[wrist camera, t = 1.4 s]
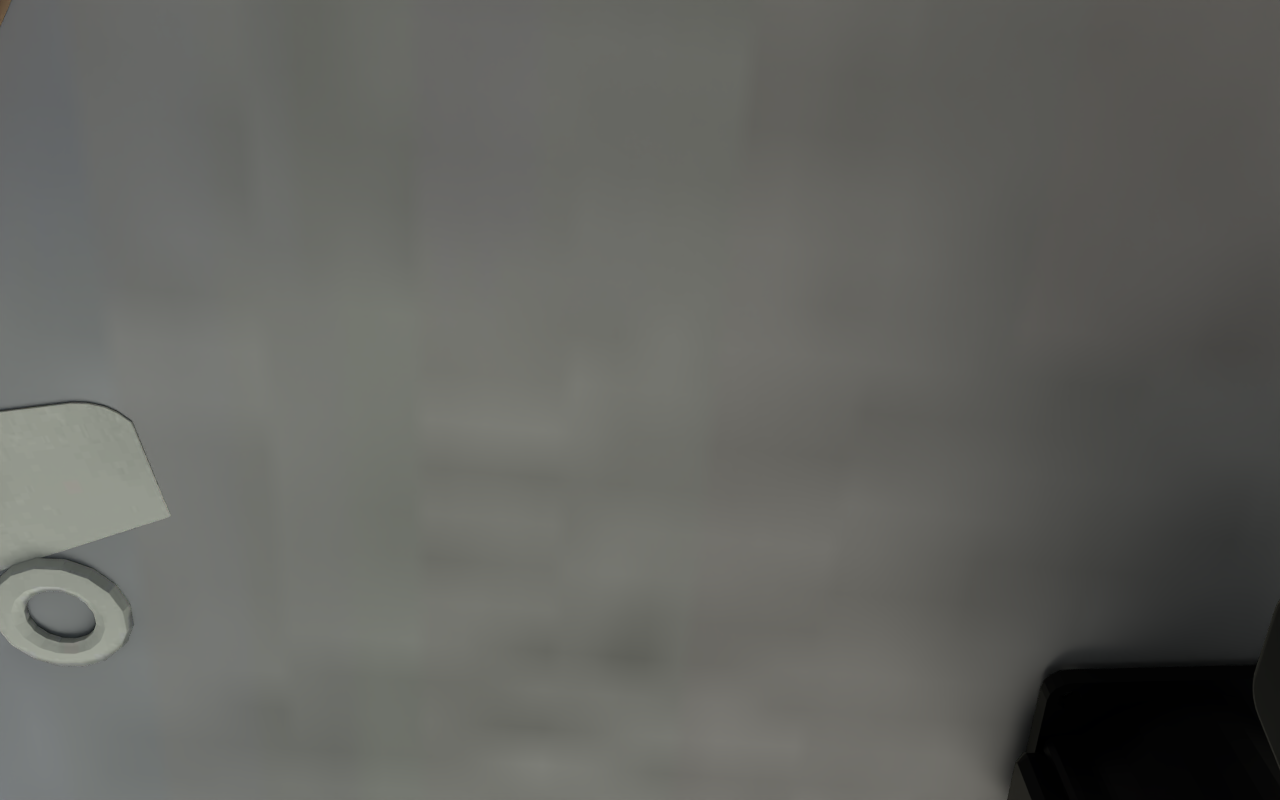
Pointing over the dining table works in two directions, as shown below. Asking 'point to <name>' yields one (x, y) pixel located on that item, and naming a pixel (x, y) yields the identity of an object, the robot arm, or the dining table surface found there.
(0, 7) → the wooden tray
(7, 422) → the mounting bracket
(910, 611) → the dining table surface
